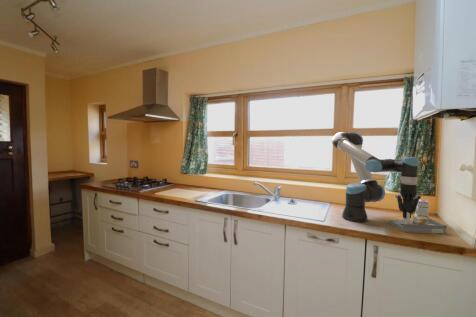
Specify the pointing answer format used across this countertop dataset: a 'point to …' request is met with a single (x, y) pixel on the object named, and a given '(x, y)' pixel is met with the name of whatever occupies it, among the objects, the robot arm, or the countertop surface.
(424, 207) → the syrup box
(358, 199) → the robot arm
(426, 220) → the maple block
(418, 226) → the trap board
